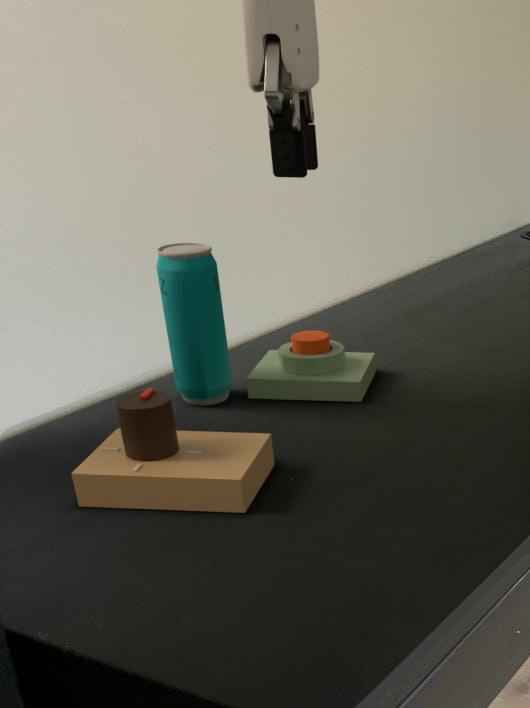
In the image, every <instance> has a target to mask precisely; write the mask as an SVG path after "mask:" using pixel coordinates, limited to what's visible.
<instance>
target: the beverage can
mask: <svg viewBox="0 0 530 708" xmlns="http://www.w3.org/2000/svg"><path fill="white" fill-rule="evenodd" d="M212 252H213V248H212V246H211V245H209V244H206V243H201V242H178V243H177V242H176V243H170V244H165V245H162V246H159V247H158V248H157V249H156V253H157V254H158V258H157V262H156V266H155V268H156V274H157V279H158V286H159V291H160V298H161V304H162V310H163V316H164V322H165V328H166V335H167V341H168V347H169V353H170V358H171V366H172V371H173V377H174V383H175V386H176V388H177V390H178V392H179V394H180V395H181V398H182V399H183V401H185V403H187V404H190V405H193V406H213V405H218V404H221V403H223V402H225V401H227V399H228V398H229V396H230V393H231V389H232V384H233V376H232V367H231V362H230V354H229V346H228V338H227V330H226V325H225V324H226V323H225V316H224V309H223V301H222V292H221V284H220V277H219V271H218V269H219V268H218V263H217V261H216V259H215V257H214V255H213V253H212Z"/></svg>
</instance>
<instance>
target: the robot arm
mask: <svg viewBox="0 0 530 708" xmlns="http://www.w3.org/2000/svg"><path fill="white" fill-rule="evenodd" d="M241 9H242V10H241V12H242V13H241V14H242V27H243V45H244V55H245V56H244V58H245V71H246V74H245V75H246V82H247V86H248V88H249V89H250V90H251V91H252V92H253V93H262V92H263V94H264V99H265V103H266V110H267V123H268V129H269V130H268V134H269V136H268V137H269V146H270V153H271V154H270V155H271V165H272V167H271V168H272V174H273V176H274V177H275V178H295V179H296V178H297V179H303V178H305V177H307V176H308V171H315V170H317V169H318V168H319V159H318V157H319V156H318V146H317V131H316V129H317V128H316V124H315V111H314V102H313V94H312V89H313V88H314V87H316V86H317V85H318V83H319V82H320V81H319V80H320V54H319V53H320V52H319V51H320V50H319V39H318V38H319V37H318V27H317V26H318V25H317V15H316V14H317V13H316V2H315V0H241Z"/></svg>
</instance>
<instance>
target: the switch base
mask: <svg viewBox="0 0 530 708" xmlns="http://www.w3.org/2000/svg"><path fill="white" fill-rule="evenodd" d="M376 364H377V363H376V353H375V352H360V351H358V352H357V351H346V347H345V345H344V344H342V343H341V342H339V341H335V340H331V339H330V352H327V353H324V354H317V355H300V354H295V353H293V350H292V341H290V342H287V343H284V344H281V345H280V347H279V348H278V349H269V350H268V351H267V353H266V354H265V355H264V356H263V357H262V358H261V360H260V361H259V362H258V363H257V364H256V365H255V367H254V368H253V369H252V371H251V372H250V373H249V374H248V376H247V377H246V378H245V381H246V390H247V397H248V399H252V400H257V399H258V400H287V401H317V402H318V401H319V402H347V403H349V402H350V403H361V402H362V401H363V399H364V397H365V395H366V393H367V391H368V389H369V386H370V384H371V383H372V381H373V380H374V379H373V378H374V376H375V375H376V372H377V368H376V367H377V366H376Z"/></svg>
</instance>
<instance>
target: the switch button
mask: <svg viewBox="0 0 530 708" xmlns="http://www.w3.org/2000/svg"><path fill="white" fill-rule="evenodd" d="M290 338H291V342H292V350H293V353H295V354H300V355H317V354H324V353H327V352H330V340H331V339H330V334H329V333H328V332H326V331H322V330H301V331H297V332H295V333H292V334H291V337H290Z"/></svg>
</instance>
